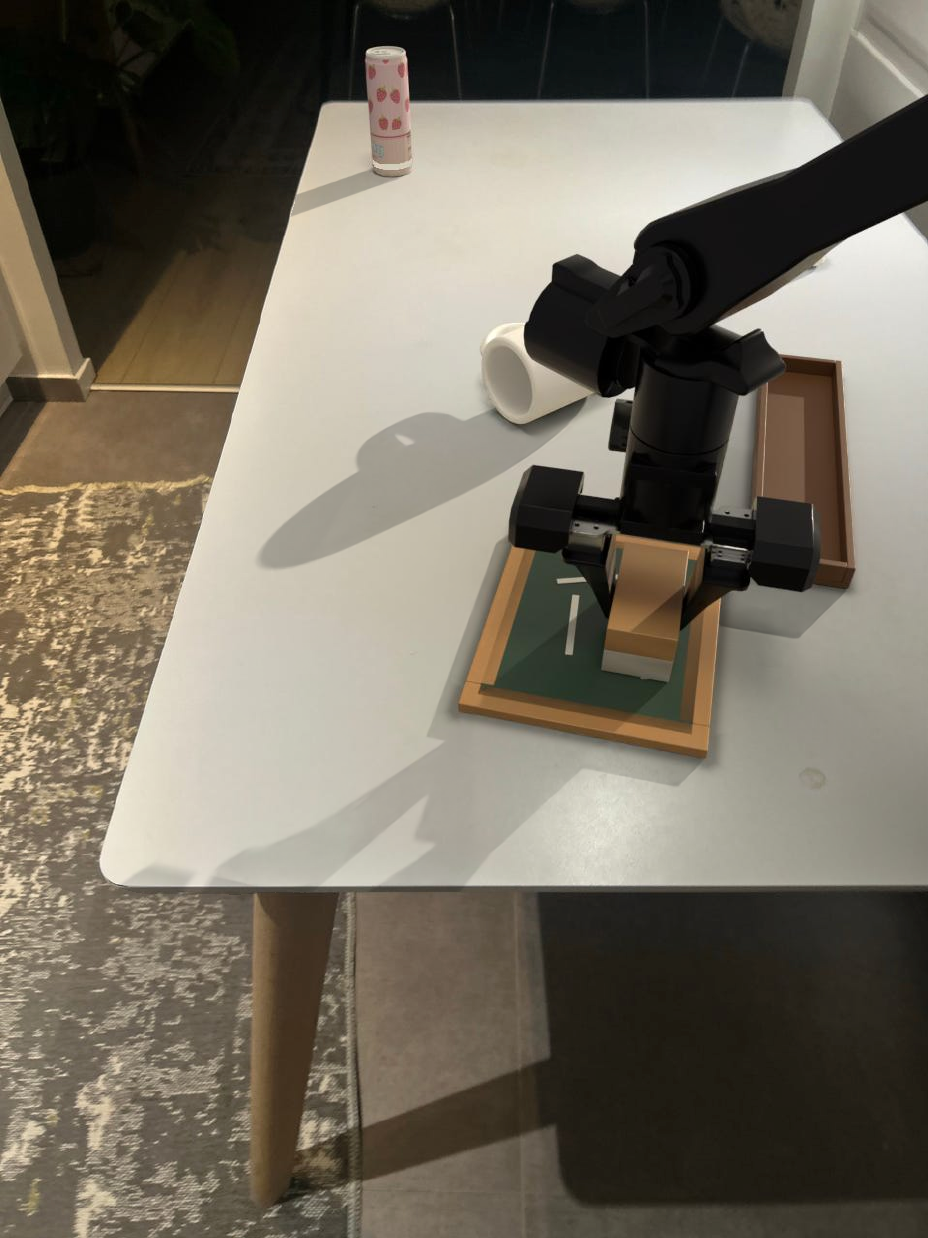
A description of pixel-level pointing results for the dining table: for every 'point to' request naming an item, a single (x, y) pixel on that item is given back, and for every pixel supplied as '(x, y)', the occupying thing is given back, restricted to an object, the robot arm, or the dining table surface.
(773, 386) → the chalk tray
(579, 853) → the dining table surface
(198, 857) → the dining table surface
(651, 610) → the eraser
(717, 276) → the robot arm
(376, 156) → the beverage can
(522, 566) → the chalkboard
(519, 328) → the mug
